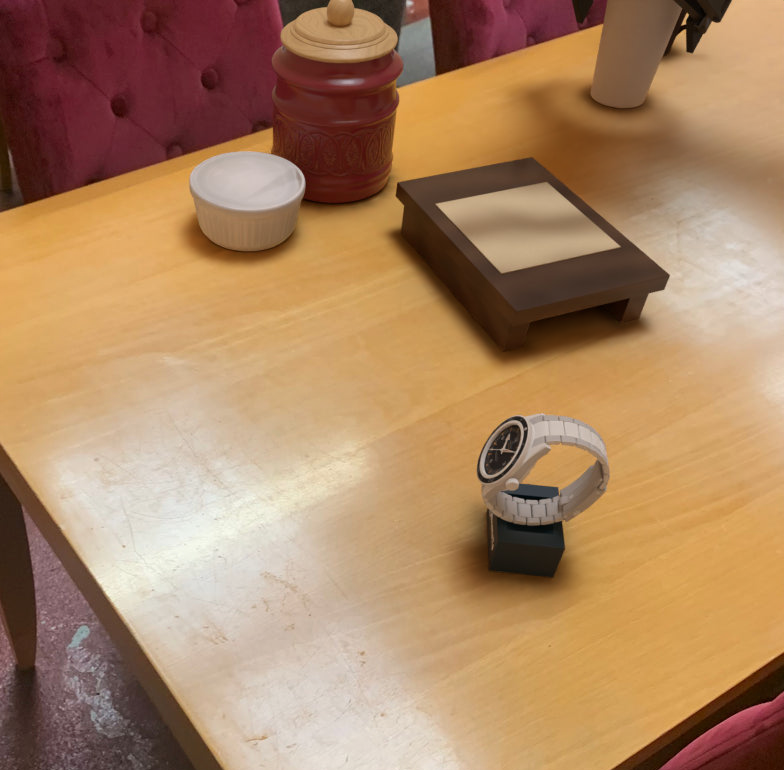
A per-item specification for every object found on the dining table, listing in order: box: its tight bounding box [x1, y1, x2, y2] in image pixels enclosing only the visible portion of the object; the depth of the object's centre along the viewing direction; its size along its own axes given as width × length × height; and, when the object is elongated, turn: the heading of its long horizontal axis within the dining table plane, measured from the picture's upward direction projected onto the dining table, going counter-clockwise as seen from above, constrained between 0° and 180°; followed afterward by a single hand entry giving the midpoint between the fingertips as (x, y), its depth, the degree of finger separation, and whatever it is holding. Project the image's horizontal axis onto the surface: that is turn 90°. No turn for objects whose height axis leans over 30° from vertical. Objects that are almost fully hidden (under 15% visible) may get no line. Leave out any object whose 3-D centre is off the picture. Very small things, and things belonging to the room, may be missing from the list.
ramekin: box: [188, 150, 305, 252], centre depth 87 cm, size 11×11×5 cm
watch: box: [476, 412, 611, 578], centre depth 58 cm, size 6×8×11 cm
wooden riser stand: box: [395, 156, 671, 352], centre depth 82 cm, size 22×15×5 cm
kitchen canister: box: [270, 0, 404, 204], centre depth 90 cm, size 13×13×18 cm
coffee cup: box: [589, 0, 682, 109], centre depth 104 cm, size 10×10×15 cm
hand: (638, 26), depth 104 cm, fingers open, 13 cm apart
